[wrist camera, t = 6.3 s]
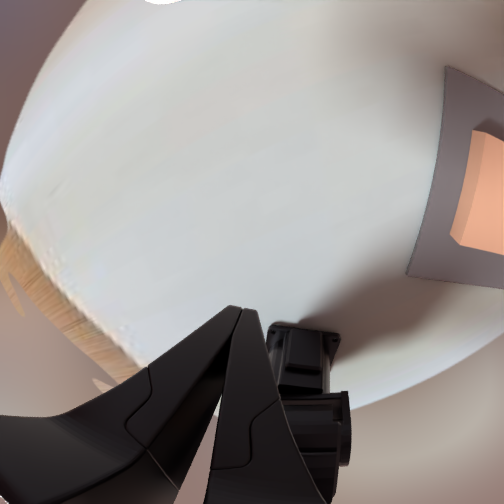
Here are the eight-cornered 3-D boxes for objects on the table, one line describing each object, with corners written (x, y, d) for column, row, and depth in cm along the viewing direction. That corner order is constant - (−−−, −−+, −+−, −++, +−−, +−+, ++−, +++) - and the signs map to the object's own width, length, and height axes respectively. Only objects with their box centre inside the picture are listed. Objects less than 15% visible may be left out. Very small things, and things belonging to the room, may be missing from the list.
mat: (502, 286, 17) (504, 289, 17) (405, 273, 19) (407, 275, 19) (544, 124, 10) (547, 125, 9) (445, 66, 11) (447, 65, 11)
